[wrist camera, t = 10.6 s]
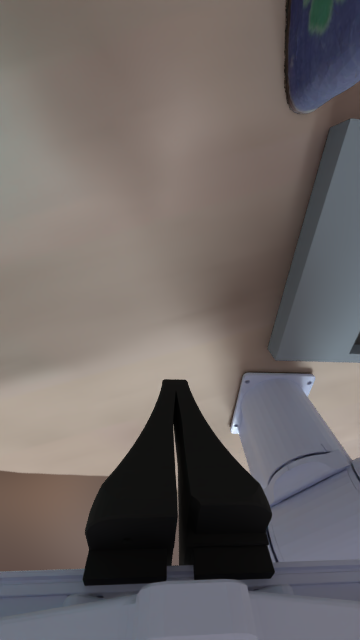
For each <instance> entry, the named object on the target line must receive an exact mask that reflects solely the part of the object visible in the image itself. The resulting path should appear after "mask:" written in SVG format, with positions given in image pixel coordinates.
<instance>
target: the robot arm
mask: <svg viewBox="0 0 360 640" xmlns="http://www.w3.org/2000/svg"><path fill="white" fill-rule="evenodd" d="M246 380H248V381H246ZM314 381H315V377H314V375H313V374H291V373H245V374H244V375H243V378H242V382H241V386H240V390H239V394H238V399H237V403H236V407H235V411H234V415H233V419H232V423H231V428H230V431H231V433H234V434H239V436H240V439H241V443H242V446H243V449H244V453H245V456H246V459H247V463H248V466H249V469H250V473H251V475H250V474H249V473H248V472H247V471H246V470H245V469H244V468H243V467H242V466H241V465H240V464H239V463H238V462H237V460H236V459H235V458H234V457H233V456H232V455H231V454H230V452H229V451H228V450H227V449H226V448H225V447H224V445H223V444H222V443H221V442H220V440H219V439H218V438H217V436H216V435H215V434H214V432H213V431H212V429H211V428H210V426H209V425H208V423H207V422H206V420H205V418H204V417H203V415H202V413H201V411H200V410H199V408H198V406H197V404H196V402H195V400H194V398H193V396H192V393H191V391H190V388H189V386H188V382H187V381H186V380H169V379H165V380H163V382H162V388H161V391H160V394H159V397H158V400H157V402H156V405H155V407H154V410H153V412H152V414H151V416H150V418H149V420H148V422H147V424H146V426H145V427H144V429H143V431H142V432H141V434H140V436H139V437H138V439H137V440H136V442H135V444H134V445H133V447H132V448H131V449H130V451H129V452H128V453H127V455H126V456H125V457H124V459H123V460H122V461H121V463H120V464H119V465H118V467H117V468H116V469H115V470H114V471H113V472H112V474H111V475H110V476H109V477H108V478H107V479H106V480H105V482H104V483H103V484H102V486H101V488H100V490H99V492H98V494H97V496H96V498H95V500H94V503H93V505H92V508H91V511H90V513H89V517H88V521H87V525H86V529H85V535H86V539H87V543H88V546H89V553H88V557H87V561H86V566H85V569H65V570H64V569H63V570H34V571H5V572H0V640H360V458H356V459H355V460H352V459H351V458H350V457H349V455H348V454H347V452H346V451H345V450H344V448H343V447H342V445H341V444H340V442H339V441H338V440H337V438H336V437H335V435H334V434H333V432H332V431H331V430H330V428H329V427H328V425H327V424H326V423H325V421H324V420H323V418H322V417H321V415H320V414H319V413H318V411H317V410H316V408H315V407H314V405H313V404H312V403H311V401H310V400H309V398H308V395H309V392H310V390H311V388H312V385H313V383H314ZM173 424H174V434H175V443H176V453H177V463H178V501H179V566H171V563H172V555H173V548H174V543H175V542H174V541H175V533H176V526H177V517H178V512H177V490H176V475H175V457H174V435H173Z"/></svg>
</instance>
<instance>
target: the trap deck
mask: <svg viewBox="0 0 360 640" xmlns="http://www.w3.org/2000/svg"><path fill="white" fill-rule="evenodd" d="M268 350H269V351H270V353H271V354H272V356H273V358H274V359H275V360H279V361H318V362H357V363H360V119H349V120H346V121H344V122H342V123H340V124H337V125H335V126H333V127H331V128H330V130H329V134H328V137H327V141H326V144H325V148H324V151H323V155H322V158H321V162H320V165H319V169H318V172H317V176H316V180H315V183H314V187H313V190H312V194H311V197H310V201H309V204H308V208H307V211H306V215H305V218H304V222H303V225H302V229H301V232H300V236H299V239H298V243H297V246H296V250H295V253H294V257H293V261H292V264H291V268H290V271H289V275H288V278H287V282H286V285H285V289H284V292H283V296H282V299H281V303H280V306H279V310H278V313H277V317H276V320H275V324H274V327H273V331H272V335H271V338H270V342H269V345H268Z"/></svg>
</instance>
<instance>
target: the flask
mask: <svg viewBox="0 0 360 640" xmlns="http://www.w3.org/2000/svg"><path fill="white" fill-rule="evenodd" d="M286 13H287V16H286V18H287V21H286V24H287V25H286V30H285V35H286V36H285V40H286V41H285V65H284V67H285V69H284V72H285V87H284V88H285V89H286V90H285V92H286V96H287V101H288V104H289V107H290V109H291V110H292V111H294V112H295V113H298V114H300V113H301V114H308V113H310V112H313V111H315V110H316V109H317V108H318V107H320V106H321V105H323V104H324V103H326V102H327V101H329V100H330V99H332V98H333V97H334V96H336V95H338V94H340V93H342V92H344V91H345V90H347V89H348V88H350V87H352V86H353V85H354V84H356V83H357V82H358V81H360V0H287V2H286Z"/></svg>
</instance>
